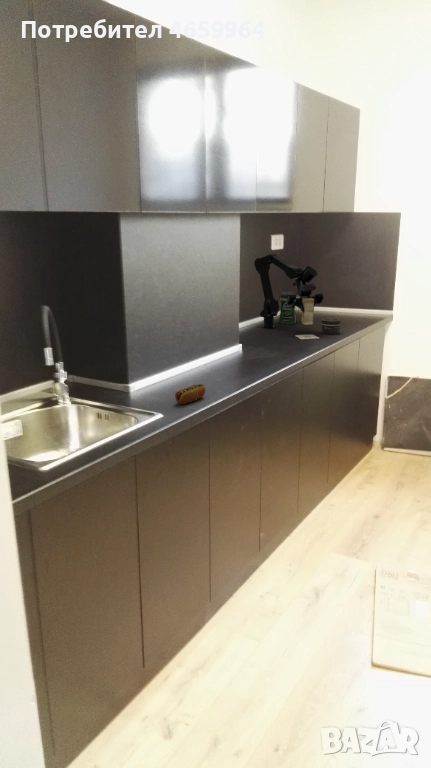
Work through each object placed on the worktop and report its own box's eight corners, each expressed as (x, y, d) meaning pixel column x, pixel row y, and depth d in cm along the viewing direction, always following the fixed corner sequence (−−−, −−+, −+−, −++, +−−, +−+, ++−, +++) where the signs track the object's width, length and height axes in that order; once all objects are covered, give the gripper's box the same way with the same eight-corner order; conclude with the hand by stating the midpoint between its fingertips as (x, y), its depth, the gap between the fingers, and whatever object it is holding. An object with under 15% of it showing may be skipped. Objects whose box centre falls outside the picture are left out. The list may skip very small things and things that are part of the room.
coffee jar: (277, 324, 340) (278, 292, 335) (281, 321, 347) (281, 290, 342) (294, 325, 337) (295, 292, 331) (297, 322, 344) (298, 291, 339)
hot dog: (171, 404, 195) (171, 390, 194) (196, 395, 205) (196, 381, 204) (182, 407, 192) (182, 393, 191) (207, 397, 202) (207, 384, 201)
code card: (294, 335, 306) (294, 335, 306) (312, 335, 308) (312, 334, 307) (301, 339, 296) (301, 339, 296) (319, 338, 298) (319, 338, 298)
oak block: (301, 323, 302) (302, 298, 298) (309, 322, 302) (310, 297, 299) (304, 324, 297) (305, 299, 294) (312, 324, 298) (313, 299, 295)
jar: (343, 333, 312) (343, 319, 310) (335, 336, 304) (335, 322, 302) (326, 331, 318) (326, 317, 315) (317, 334, 310) (318, 320, 308)
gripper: (288, 278, 295) (295, 303, 288) (323, 277, 299) (330, 302, 292) (283, 292, 305) (289, 316, 298) (317, 291, 309) (323, 315, 301)
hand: (308, 312), depth 297 cm, fingers closed on oak block, 4 cm apart
